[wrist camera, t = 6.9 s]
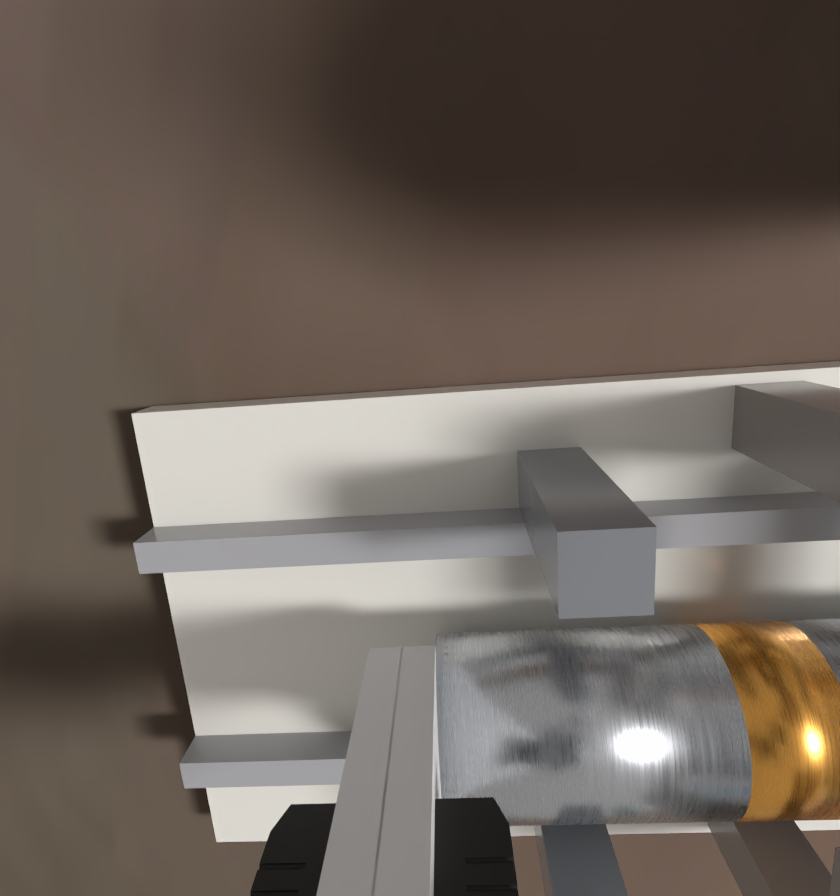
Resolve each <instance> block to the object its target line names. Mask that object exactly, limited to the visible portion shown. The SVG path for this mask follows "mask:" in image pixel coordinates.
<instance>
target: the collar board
mask: <svg viewBox="0 0 840 896" xmlns="http://www.w3.org/2000/svg"><path fill="white" fill-rule="evenodd" d="M131 415H132V420H133V425H134V430H135V435H136V440H137V445H138V450H139V455H140V460H141V465H142V470H143V475H144V480H145V485H146V490H147V495H148V500H149V505H150V510H151V515H152V520H153V525H154V527H153V528H152V529H151V530H150V531H148V532H147V533H146V534H144V535H143V536H142V537H140V538H139V539H138V540H137V541H135V542H134V543H133V545H134V550H135V555H136V560H137V564H138V569H139V574H148V573H163V575H164V580H165V585H166V591H167V596H168V601H169V606H170V611H171V616H172V621H173V626H174V631H175V636H176V641H177V646H178V651H179V656H180V661H181V666H182V671H183V676H184V681H185V686H186V691H187V696H188V701H189V706H190V711H191V716H192V721H193V726H194V731H195V737H194V739H193V741H192V743H191V744H190V746H189V748H188V750H187V751H186V753H185V755H184V756H183V758H182V760H181V762H180V763H179V764H180V769H181V774H182V778H183V783H184V788H206V791H207V796H208V801H209V806H210V811H211V816H212V821H213V826H214V831H215V836H216V841H217V842H243V841H267V840H268V837H269V834H270V831H271V830H272V829H273V827H274V826H275V825H276V823H277V822H278V821H279V819H280V818H281V817H282V815H283V814H284V813H285V811H286V810H287V809H288V807H289V806H290V805H291V804H325V803H336V801H337V797H338V792H339V787H340V783H341V778H342V773H343V769H344V764H345V760H346V755H347V750H348V746H349V741H350V736H351V732H352V727H353V722H354V718H355V713H356V708H357V704H358V699H359V694H360V690H361V685H362V680H363V676H364V671H365V666H366V662H367V657H368V652H369V648H384V647H409V646H434V645H435V650H436V635H437V633H463V632H489V631H515V630H541V629H567V628H593V627H620V626H646V625H672V624H698V623H724V622H750V621H776V620H803V619H829V618H840V361H830V362H815V363H799V364H784V365H769V366H754V367H739V368H724V369H709V370H694V371H679V372H664V373H649V374H633V375H618V376H603V377H588V378H573V379H558V380H543V381H528V382H513V383H498V384H483V385H467V386H452V387H437V388H422V389H407V390H392V391H377V392H362V393H347V394H332V395H317V396H301V397H286V398H271V399H256V400H241V401H226V402H211V403H196V404H181V405H166V406H152V407H149V408H146V409H143V410H140V411H137V412H134V413H132V414H131ZM801 830H840V820H803V821H748V822H694V823H640V824H586V825H532V826H510V833H511V836H535V837H536V843H537V849H538V855H539V860H540V866H541V872H542V878H543V884H544V890H545V896H628V895H627V892H626V888H625V885H624V882H623V879H622V875H621V872H620V869H619V866H618V863H617V859H616V856H615V853H614V850H613V846H612V843H611V840H610V837H609V834H648V833H699V832H711V833H712V835H713V837H714V839H715V841H716V843H717V845H718V847H719V849H720V851H721V853H722V855H723V857H724V859H725V860H726V862H727V864H728V866H729V868H730V870H731V872H732V874H733V876H734V878H735V880H736V882H737V884H738V886H739V888H740V890H741V892H742V894H743V896H840V847H835V855H834V862H833V870H832V876H831V874H830V873H829V872H828V870H827V869H826V867H825V866H824V864H823V863H822V861H821V860H820V858H819V857H818V855H817V854H816V852H815V851H814V849H813V848H812V846H811V845H810V843H809V842H808V840H807V839H806V838H805V836H804V835H803V833H802V832H801Z"/></svg>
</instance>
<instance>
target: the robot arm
mask: <svg viewBox="0 0 840 896" xmlns="http://www.w3.org/2000/svg"><path fill="white" fill-rule="evenodd" d="M250 896H518V890H517V880H516V872H515V865H514V857H513V849H512V841H511V833H510V826H509V823H508V821H507V819H506V818H505V816H504V814H503V813H502V811H501V809H500V807H499V806H498V804H497V802H496V801H495V799H494V797H484V798H445V799H442V798H441V784H440V768H439V749H438V727H437V697H436V650H435V645H434V646H409V647H384V648H369V652H368V657H367V662H366V666H365V671H364V676H363V680H362V685H361V690H360V694H359V699H358V704H357V708H356V713H355V718H354V722H353V727H352V732H351V736H350V741H349V746H348V750H347V755H346V760H345V764H344V769H343V773H342V778H341V783H340V787H339V792H338V797H337V801H336V803H325V804H291V805H290V806H289V807H288V809H287V810H286V811H285V813H284V814H283V815H282V817H281V818H280V819H279V821H278V822H277V823H276V825H275V826H274V827H273V829H272V830H271V831H270V834H269V837H268V840H267V843H266V846H265V849H264V852H263V855H262V858H261V861H260V868H259V870H257V873H256V876H255V879H254V882H253V886H252V889H251V895H250Z"/></svg>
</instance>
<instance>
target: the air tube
mask: <svg viewBox="0 0 840 896" xmlns="http://www.w3.org/2000/svg"><path fill="white" fill-rule="evenodd" d="M436 697H437V727H438V749H439V768H440V784H441V798H442V799H445V798H484V797H494V799H495V801H496V802H497V804H498V806H499V807H500V809H501V811H502V813H503V814H504V816H505V818H506V819H507V821H508V823H509V826H532V825H586V824H640V823H694V822H748V821H803V820H840V618H829V619H803V620H776V621H750V622H724V623H698V624H672V625H646V626H620V627H593V628H567V629H541V630H515V631H489V632H463V633H437V635H436Z"/></svg>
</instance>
